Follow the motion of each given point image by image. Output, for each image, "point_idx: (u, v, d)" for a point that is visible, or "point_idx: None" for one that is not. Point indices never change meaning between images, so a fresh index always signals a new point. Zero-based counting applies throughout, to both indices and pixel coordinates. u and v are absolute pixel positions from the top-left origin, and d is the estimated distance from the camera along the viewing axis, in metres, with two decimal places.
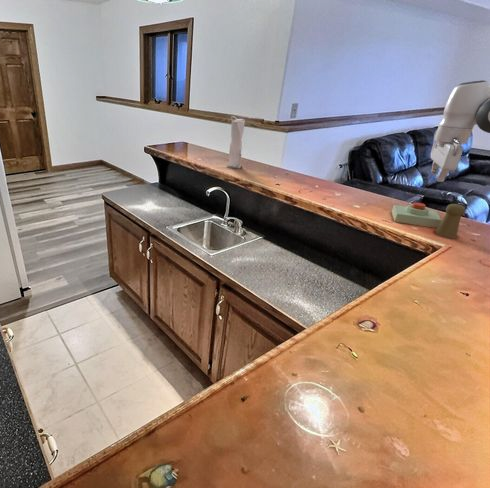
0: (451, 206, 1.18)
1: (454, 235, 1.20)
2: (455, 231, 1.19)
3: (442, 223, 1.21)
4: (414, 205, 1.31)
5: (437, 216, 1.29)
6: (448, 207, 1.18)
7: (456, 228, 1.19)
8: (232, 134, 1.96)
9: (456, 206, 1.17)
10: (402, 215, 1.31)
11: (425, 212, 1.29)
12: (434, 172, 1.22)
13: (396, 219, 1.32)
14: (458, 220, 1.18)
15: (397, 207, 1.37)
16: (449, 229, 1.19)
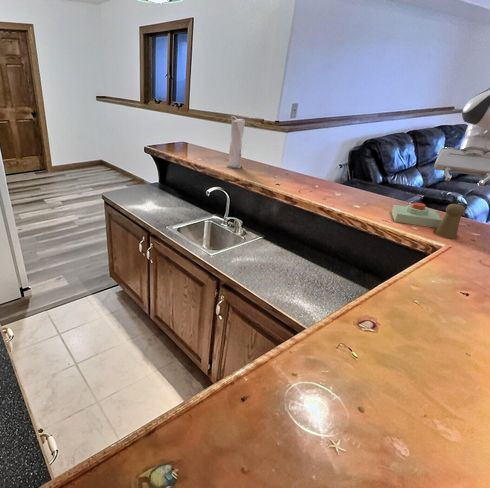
0: (451, 206, 1.18)
1: (454, 235, 1.20)
2: (455, 231, 1.19)
3: (442, 223, 1.21)
4: (414, 205, 1.31)
5: (437, 216, 1.29)
6: (448, 207, 1.18)
7: (456, 228, 1.19)
8: (232, 134, 1.96)
9: (456, 206, 1.17)
10: (402, 215, 1.31)
11: (425, 212, 1.29)
12: (478, 183, 1.22)
13: (396, 219, 1.32)
14: (458, 220, 1.18)
15: (397, 207, 1.37)
16: (449, 229, 1.19)
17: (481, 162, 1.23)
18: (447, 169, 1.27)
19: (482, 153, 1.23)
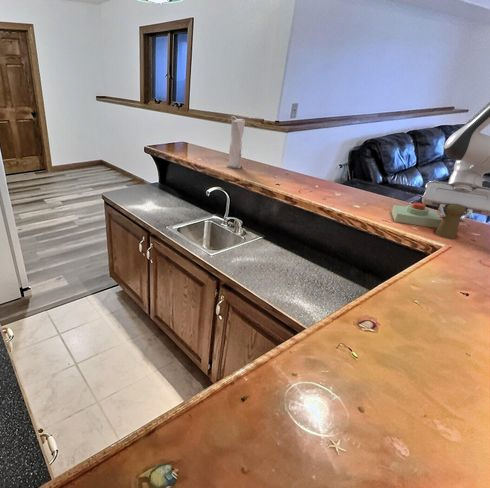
0: (451, 206, 1.18)
1: (454, 235, 1.20)
2: (455, 231, 1.19)
3: (442, 223, 1.21)
4: (414, 205, 1.31)
5: (437, 216, 1.29)
6: (448, 207, 1.18)
7: (456, 228, 1.19)
8: (232, 134, 1.96)
9: (456, 206, 1.17)
10: (402, 215, 1.31)
11: (425, 212, 1.29)
12: None
13: (396, 219, 1.32)
14: (458, 220, 1.18)
15: (397, 207, 1.37)
16: (449, 229, 1.19)
17: (470, 198, 1.18)
18: (442, 206, 1.21)
19: (471, 189, 1.18)
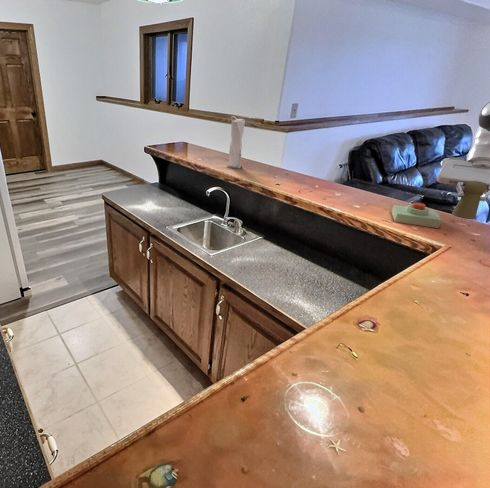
0: (470, 183, 1.06)
1: (473, 216, 1.08)
2: (475, 211, 1.08)
3: (460, 203, 1.10)
4: (414, 205, 1.31)
5: (437, 216, 1.29)
6: (467, 185, 1.07)
7: (476, 208, 1.08)
8: (232, 134, 1.96)
9: (476, 183, 1.05)
10: (402, 215, 1.31)
11: (425, 212, 1.29)
12: None
13: (396, 219, 1.32)
14: (478, 199, 1.07)
15: (397, 207, 1.37)
16: (468, 209, 1.08)
17: None
18: (460, 184, 1.10)
19: None
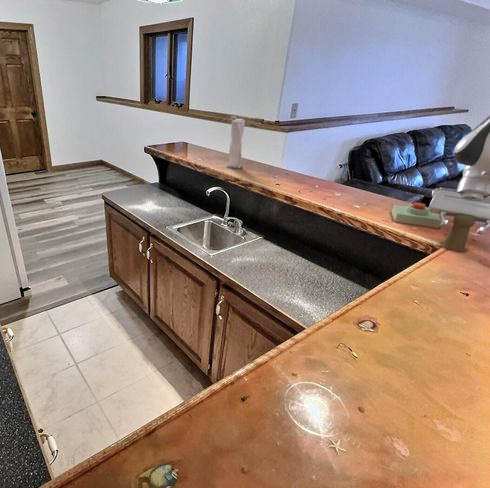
0: (459, 217, 1.09)
1: (462, 248, 1.11)
2: (463, 244, 1.10)
3: (449, 235, 1.12)
4: (414, 205, 1.31)
5: (437, 216, 1.29)
6: (456, 218, 1.09)
7: (465, 241, 1.10)
8: (232, 134, 1.96)
9: (465, 217, 1.08)
10: (402, 215, 1.31)
11: (425, 212, 1.29)
12: (478, 231, 1.08)
13: (396, 219, 1.32)
14: (467, 232, 1.09)
15: (397, 207, 1.37)
16: (457, 242, 1.10)
17: (481, 207, 1.09)
18: (442, 213, 1.13)
19: (482, 197, 1.09)
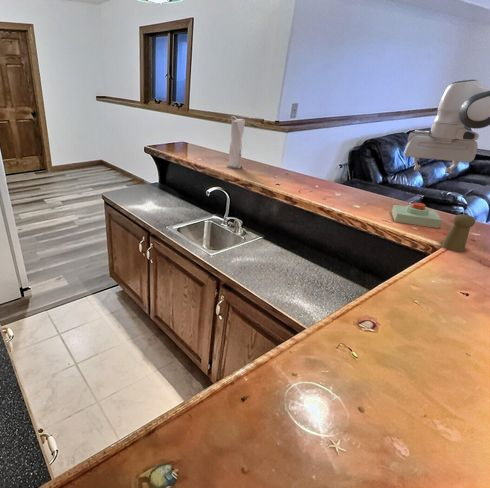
0: (459, 217, 1.09)
1: (462, 248, 1.11)
2: (463, 244, 1.10)
3: (449, 235, 1.12)
4: (414, 205, 1.31)
5: (437, 216, 1.29)
6: (456, 218, 1.09)
7: (465, 241, 1.10)
8: (232, 134, 1.96)
9: (465, 217, 1.08)
10: (402, 215, 1.31)
11: (425, 212, 1.29)
12: (446, 170, 1.24)
13: (396, 219, 1.32)
14: (467, 232, 1.09)
15: (397, 207, 1.37)
16: (457, 242, 1.10)
17: (450, 150, 1.20)
18: (416, 160, 1.26)
19: (452, 141, 1.18)
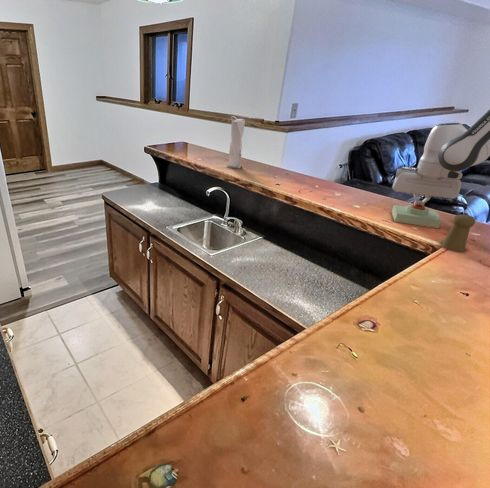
0: (459, 217, 1.09)
1: (462, 248, 1.11)
2: (463, 244, 1.10)
3: (449, 235, 1.12)
4: (413, 207, 1.32)
5: (437, 216, 1.29)
6: (456, 218, 1.09)
7: (465, 241, 1.10)
8: (232, 134, 1.96)
9: (465, 217, 1.08)
10: (402, 215, 1.31)
11: (425, 212, 1.29)
12: None
13: (396, 219, 1.32)
14: (467, 232, 1.09)
15: (397, 207, 1.37)
16: (457, 242, 1.10)
17: (435, 187, 1.26)
18: (416, 196, 1.30)
19: (437, 178, 1.24)
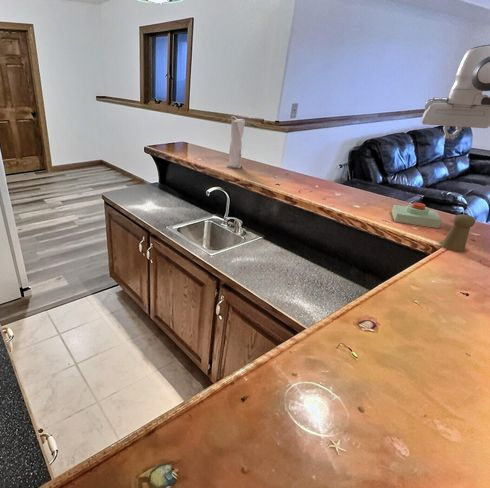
0: (459, 217, 1.09)
1: (462, 248, 1.11)
2: (463, 244, 1.10)
3: (449, 235, 1.12)
4: (414, 205, 1.31)
5: (437, 216, 1.29)
6: (456, 218, 1.09)
7: (465, 241, 1.10)
8: (232, 134, 1.96)
9: (465, 217, 1.08)
10: (402, 215, 1.31)
11: (425, 212, 1.29)
12: None
13: (396, 219, 1.32)
14: (467, 232, 1.09)
15: (397, 207, 1.37)
16: (457, 242, 1.10)
17: (467, 117, 1.22)
18: (446, 128, 1.26)
19: (469, 107, 1.20)
